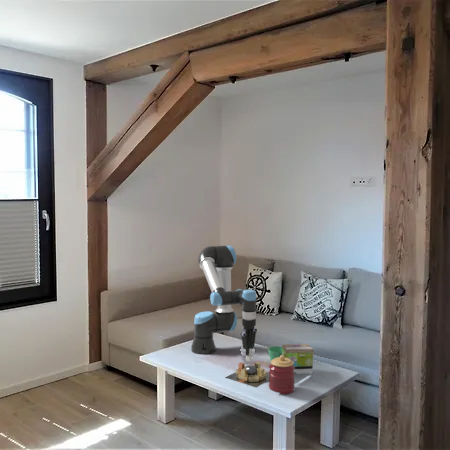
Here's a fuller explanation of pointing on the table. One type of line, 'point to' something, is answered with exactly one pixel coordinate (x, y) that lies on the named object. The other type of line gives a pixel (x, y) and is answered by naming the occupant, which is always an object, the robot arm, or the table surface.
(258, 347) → the table surface
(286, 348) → the tea box
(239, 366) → the ring nut
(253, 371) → the cap plate
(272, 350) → the mug
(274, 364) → the canister
